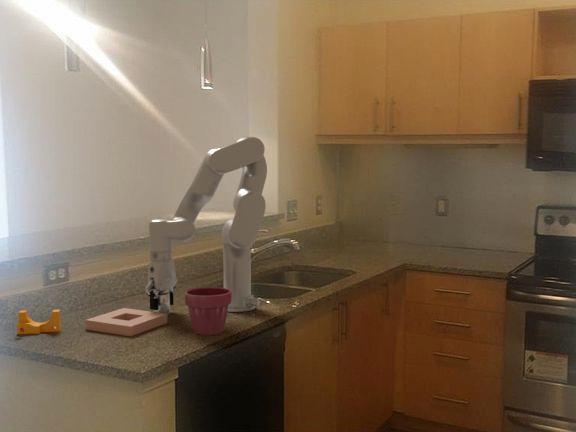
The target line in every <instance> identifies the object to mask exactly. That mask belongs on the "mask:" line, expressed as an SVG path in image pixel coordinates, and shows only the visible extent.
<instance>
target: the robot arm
mask: <svg viewBox="0 0 576 432" xmlns="http://www.w3.org/2000/svg"><path fill="white" fill-rule="evenodd" d="M265 157H266V156H265V145H264V143H263V141H262V140H261V139H260V138H258V137H255V136H243V137H241V138H238V140H236V142H234V143H232V144H229V145H226V146H223V147H220V148H216V147H215V148H212V149H210V150H208V151H207V152H206V154H205V155H204V157H203V159H202V162H200V166H199V167H198V170H197V171H196V174H195V176H194V177H193V179H192V181H191V184H190V186H189V188H188V189H187V190H186V193H185V195H184V196H183V198H182V199H181V201H180V203H179V205H178V207H177V209H176V211H175V213H174V215H173V217H172V219H171V220H169V219H166V218H161V219H160V218H158V219H151V221H149V223H148V224H149V225H148V233H149V236H148V237H149V238H148V239H149V240H148V241H149V245H148V246H149V262H148V270H147V271H148V272H147V284H146V285H145V287H144V291H145V293H146V294H147V297H148V299H149V309H150V310H151V311H154V310H158V309H159V303H158V298H157V296H158V293H159V291H163V290H166V289H169V291H170V306H173V305H174V294H175V289H176V285H177V283H178V278H177V277H176V276H177V275H176V273H177V272H176V266H175V261H174V258H173V241H177V242H188V241H190V240H192V239H193V238H194V237H195V235H196V231H197V230H196V229H197V228H196V226H195V222H196V219H197V218H198V215H199V214H200V212H201V211H202V209H203V208H204V206H206V205H207V204H208V203H209V202H210V201H211V200H212V199H213V197H214V196H215V194H216V192H217V189H218V187H219V185H220V183H221V181H222V179H223V178H224V175H225V174H228V173H230V172H233V171H236V170H239V169H241V168H242V173H241V176H240V180H239V183H238V187H237V190H236V193H235V195H234V198H233V200H232V205H233V208H234V211H235V214H234V217H233V218H231V219H229V220H227V221H226V222H225V223H224V224H223V226H222V230H221V242H222V254H223V255H222V256H223V259H222V260H223V261H222V262H223V263H222V265H223V288H226V289H230V290H231V294H232V300H231V303H230V304H229V306H228V312H230V313H242V312H243V313H244V312H249V311H253V310H255V309H256V307H260V304H261V300H260V299H255V298H254V294H252V290H251V289H252V285H251V284H252V277H251V276H252V271H251V270H252V268H251V266H252V265H251V264H252V262H251V261H252V257H251V256H252V255H251V247H252V246H253V245H254V244H255V242H256V240H257V238H258V234H259V231H260V228H261V225H262V222H263V219H264V216H265V213H266V206H267V204H266V200H265V197H264V195H263V191H264V188H265V183H266V179H267V175H268V167H267V165H268V164H267V161H266V158H265ZM154 288H156V289H154ZM154 291H155V294H154ZM228 312H227V313H228Z"/></svg>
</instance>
